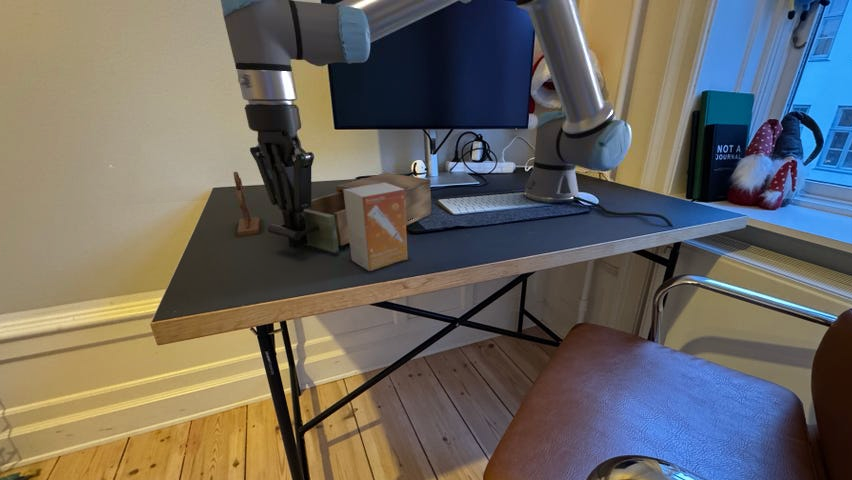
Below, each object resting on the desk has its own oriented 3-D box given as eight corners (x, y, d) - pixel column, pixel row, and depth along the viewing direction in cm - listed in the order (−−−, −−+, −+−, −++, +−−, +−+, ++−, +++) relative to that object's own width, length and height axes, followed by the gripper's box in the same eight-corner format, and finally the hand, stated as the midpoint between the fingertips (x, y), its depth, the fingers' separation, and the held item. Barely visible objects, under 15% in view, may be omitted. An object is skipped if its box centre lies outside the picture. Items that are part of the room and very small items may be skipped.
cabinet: (387, 234, 78) (384, 194, 74) (340, 223, 83) (335, 185, 80) (431, 214, 91) (430, 179, 87) (388, 205, 96) (385, 172, 93)
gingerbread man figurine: (259, 233, 77) (245, 175, 71) (237, 236, 75) (221, 177, 70) (259, 220, 84) (246, 167, 79) (240, 222, 82) (225, 168, 77)
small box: (369, 272, 62) (361, 196, 56) (351, 260, 66) (341, 188, 60) (408, 259, 67) (405, 188, 61) (389, 249, 71) (384, 181, 65)
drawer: (309, 263, 62) (302, 225, 59) (263, 248, 67) (254, 213, 64) (389, 228, 79) (387, 196, 76) (346, 218, 84) (343, 188, 81)
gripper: (221, 101, 56) (257, 244, 67) (277, 105, 51) (306, 260, 61) (266, 100, 62) (292, 231, 73) (320, 103, 56) (340, 245, 67)
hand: (298, 244), depth 67 cm, fingers closed
